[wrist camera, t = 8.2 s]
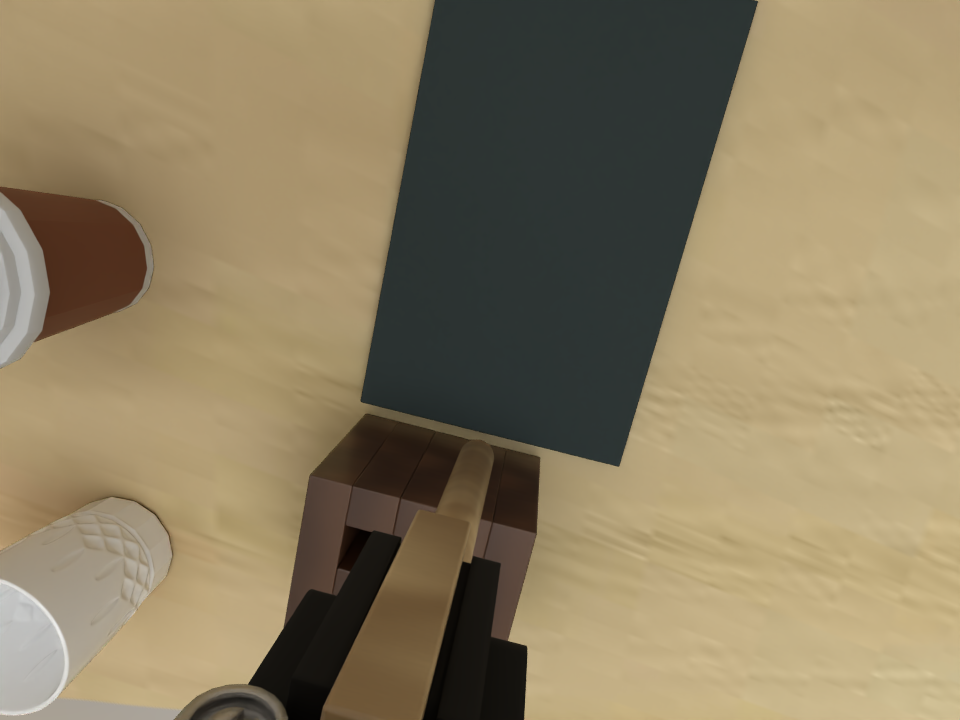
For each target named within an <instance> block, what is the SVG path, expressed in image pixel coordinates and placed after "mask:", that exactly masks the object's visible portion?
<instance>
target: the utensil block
mask: <svg viewBox="0 0 960 720" xmlns="http://www.w3.org/2000/svg"><path fill="white" fill-rule="evenodd" d="M469 441H471V440H468V439H464V438H460V437H456V436H452V435H448V434H444V433H440V432H435V431H433V430H429V429H425V428H421V427H417V426H413V425H409V424H405V423H401V422H399V423H398V422H397V421H393V420H389V419H385V418H381V417H377V416H373V415H369V414H365V415H364V416H363V418H362V419H361V420H360V421H359V422H358V423H357V424H356V425H355V426H354V427H353V428H352V430H351V431H350V432H349V433H348V434H347V435H346V436H345V437H344V438H343V439H342V441H341V442H340V443H339V444H338V445H337V446H336V447H335V448H334V449H333V450H332V451H331V453H330V454H329V455H328V456H327V457H326V458H325V459H324V460H323V461H322V462H321V464H320V465H319V466H318V467H317V468H316V469H315V470H314V471H313V472H312V473H311V474H310V477H309V482H308V488H307V494H306V500H305V506H304V512H303V518H302V523H301V529H300V535H299V541H298V547H297V553H296V559H295V565H294V570H293V576H292V582H291V588H290V594H289V600H288V606H287V612H286V617H285V623H284V627H285V626H286V624H287V622H288V621H289V619H290V618H291V616H292V615H293V613H294V611H295V610H296V608H297V607H298V605H299V604H300V602H301V600H302V599H303V597H304V596H305V594H306V593H307V592H308V591H309V590H310V589H314V590H317V591H321V592H325V593H329V594H332V595H336V596H337V594H338V593H339V591H340V589H341V587H342V585H343V584H344V582H345V580H346V578H347V576H348V574H349V573H350V571H351V569H352V567H353V565H354V564H355V562H356V560H357V558H358V556H359V555H360V553H361V551H362V549H363V547H364V546H365V544H366V542H367V540H368V538H369V537H370V535H371V533H372V532H373V530H375V531H379V532H383V533H387V534H391V535H395V536H399V537H402V541H401V544H402V542H403V540H404V538H405V535H406V533H407V531H408V529H409V527H410V525H411V523H412V521H413V519H414V517H415V515H416V513H417V511H418V510H425V511H429V512H433V513H435V512H436V510H437V507H438V505H439V502H440V500H441V497H442V495H443V492H444V490H445V487H446V485H447V483H448V480H449V478H450V475H451V473H452V470H453V468H454V465H455V463H456V461H457V458H458V456H459V453H460V451H461V449H462V447H463V446H464V445H465V444H466V443H467V442H469ZM490 447H491V448H492V450H493V453H494V462H493V466H492V470H491V475H490V479H489V484H488V488H487V493H486V497H485V502H484V506H483V511H482V515H481V520H480V524H479V528H478V533H477V537H476V542H475V546H474V551H473V555H472V558H473V556H476V557H480V558H483V559H487V560H491V561H495V562H499V563H501V567H500V575H499V582H498V589H497V596H496V603H495V611H494V618H493V625H492V632H491V637H494V638H498V639H502V640H506V641H508V638H509V634H510V630H511V627H512V623H513V619H514V616H515V612H516V608H517V605H518V601H519V597H520V594H521V590H522V586H523V583H524V579H525V575H526V572H527V568H528V564H529V561H530V557H531V553H532V549H533V546H534V542H535V538H536V535H537V517H538V495H539V474H540V457H536V456H532V455H528V454H524V453H520V452H516V451H512V450H508V449H507V450H506V449H504V448H500V447H496V446H492V445H490ZM471 562H472V560H471Z"/></svg>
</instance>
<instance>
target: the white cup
mask: <svg viewBox="0 0 960 720" xmlns="http://www.w3.org/2000/svg"><path fill="white" fill-rule="evenodd" d="M171 560H172V550H171V545H170V540H169V535H168V533H167V532H166V530H165V529H164V527H163V526H162V524H161V523H160V521H159V520H158V518H157V517H156V516H155V514H153V513H152V512H150V511H149V510H147V509H146V508H144V507H143V506H141V505H140V504H138V503H137V502H135V501H130V500H125V499H120V498H115V497H109V498H106V499H102V500H98V501H94V502H91V503H89V504H87V505H85V506H83V507H82V508H80V509H78V510H76V511H75V512H73V513H71V514H70V515H68V516H65V517H63V518H60V519H58V520H56V521H54V522H52V523H50V524H48V525H46V526H45V527H43V528H41V529H40V530H38V531H35V532H33V533H31V534H29V535H27V536H25V537H24V538H22V539H20V540H18V541H16V542H15V543H13V544H11V545H9V546H8V547H6V548H4V549H2V550H0V714H2V715H25V714H30V713H33V712H36V711H39V710H41V709H43V708H45V707H46V706H48V705H49V704H50V703H52V702H53V701H54V700H55V699H56V698H57V697H58V696H59V695H60V694H61V693H62V691H63V690H64V689H65V688H66V687H67V686H68V685H69V684H70V683H71V682H72V681H73V680H74V679H75V677H76V676H77V675H78V674H79V673H80V672H81V671H82V670H83V669H84V668H85V667H86V666H87V665H88V664H89V663H90V662H91V660H92V659H93V658H94V657H95V656H96V655H97V654H98V653H99V652H100V651H101V650H102V649H103V648H104V647H105V646H106V645H107V644H108V642H109V641H110V640H111V639H112V638H113V637H114V636H115V634H116V633H117V632H118V631H119V630H120V628H121V627H123V625H124V624H125V623H126V622H127V621H128V620H129V619H130V618H131V616H132V615H133V614H134V613H135V612H136V611H137V610H138V608H139V606H140V605H141V603H142V602H143V601H144V600H145V598H146V597H147V596H148V595H149V594H150V593H151V592H152V591H153V590H154V589H155V588H156V587H157V586H158V585H159V583H160V582H161V581H162V580H163V579H164V578H165V577H166V576H167V573H168V570H169V566H170V563H171Z"/></svg>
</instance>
